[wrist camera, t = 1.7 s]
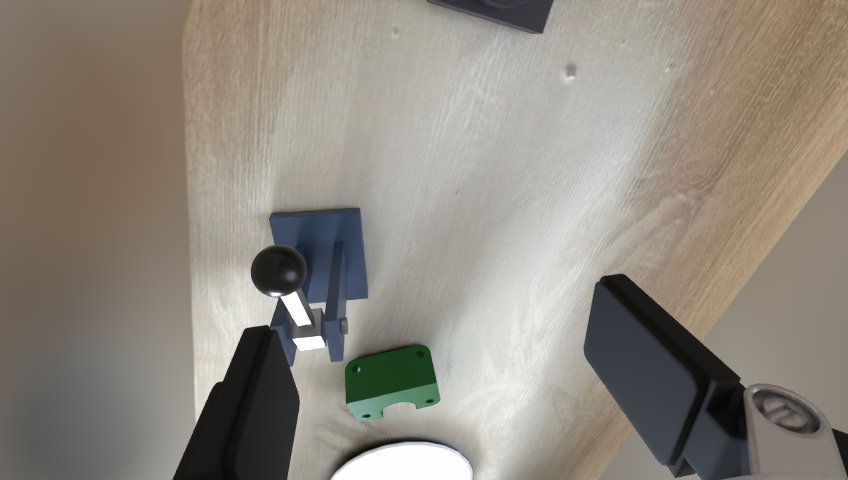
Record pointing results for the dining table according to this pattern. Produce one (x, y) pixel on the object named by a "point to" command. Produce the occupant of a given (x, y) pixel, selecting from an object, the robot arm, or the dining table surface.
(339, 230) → the bracket
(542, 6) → the button box
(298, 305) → the lever
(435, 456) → the plate
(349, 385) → the green mounting block
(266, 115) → the dining table surface
